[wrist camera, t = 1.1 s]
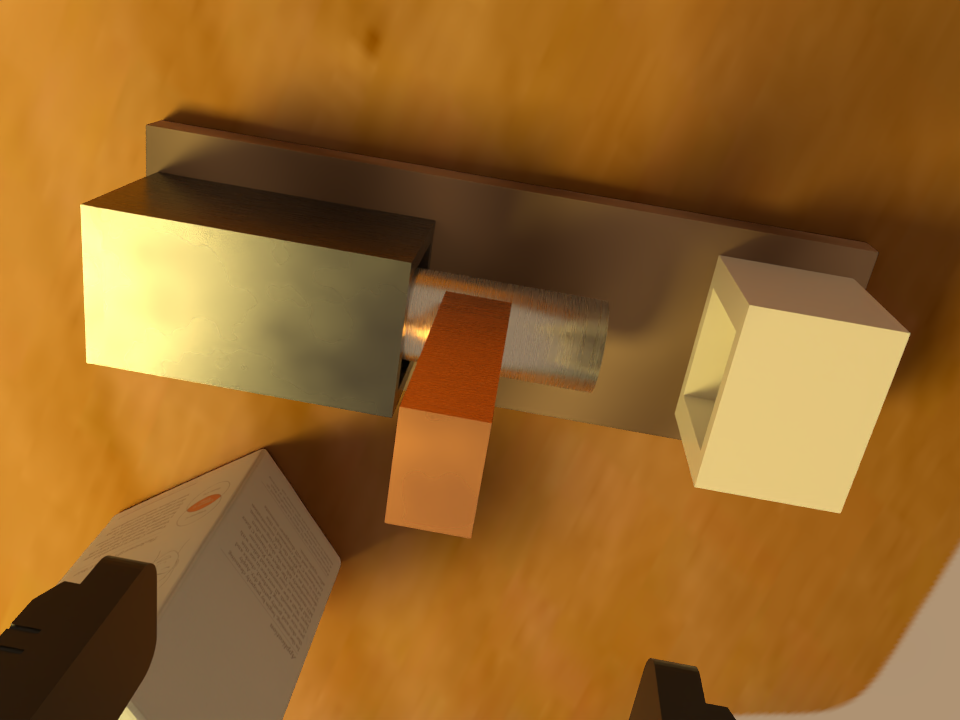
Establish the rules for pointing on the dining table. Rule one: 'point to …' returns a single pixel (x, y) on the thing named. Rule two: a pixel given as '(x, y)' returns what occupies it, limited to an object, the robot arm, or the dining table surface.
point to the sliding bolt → (477, 383)
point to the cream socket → (785, 383)
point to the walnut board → (537, 254)
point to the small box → (224, 591)
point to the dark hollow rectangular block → (252, 290)
